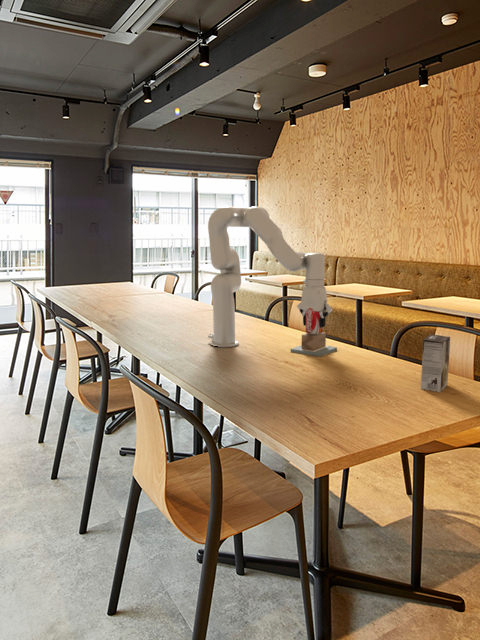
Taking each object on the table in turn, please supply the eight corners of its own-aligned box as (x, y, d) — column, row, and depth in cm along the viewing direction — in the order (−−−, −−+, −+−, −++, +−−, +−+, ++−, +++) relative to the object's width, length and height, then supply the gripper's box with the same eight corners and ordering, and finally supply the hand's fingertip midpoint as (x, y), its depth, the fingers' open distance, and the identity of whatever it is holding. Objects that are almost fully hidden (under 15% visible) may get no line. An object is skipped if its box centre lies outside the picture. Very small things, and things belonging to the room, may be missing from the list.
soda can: (322, 335, 207) (322, 306, 204) (304, 335, 208) (305, 306, 206) (322, 332, 213) (323, 304, 211) (306, 331, 215) (306, 303, 213)
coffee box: (427, 382, 167) (430, 334, 165) (448, 385, 164) (451, 336, 161) (419, 389, 160) (422, 339, 157) (441, 392, 156) (444, 341, 154)
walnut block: (301, 349, 210) (301, 334, 209) (313, 344, 217) (314, 331, 216) (313, 351, 206) (313, 336, 205) (325, 346, 214) (325, 332, 213)
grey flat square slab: (290, 351, 211) (290, 348, 211) (308, 345, 222) (308, 342, 221) (320, 356, 202) (320, 353, 202) (336, 350, 213) (337, 347, 213)
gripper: (291, 282, 209) (291, 325, 213) (329, 285, 199) (328, 330, 202) (301, 281, 215) (300, 322, 218) (338, 283, 204) (337, 327, 208)
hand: (314, 325), depth 210 cm, fingers closed on soda can, 7 cm apart
